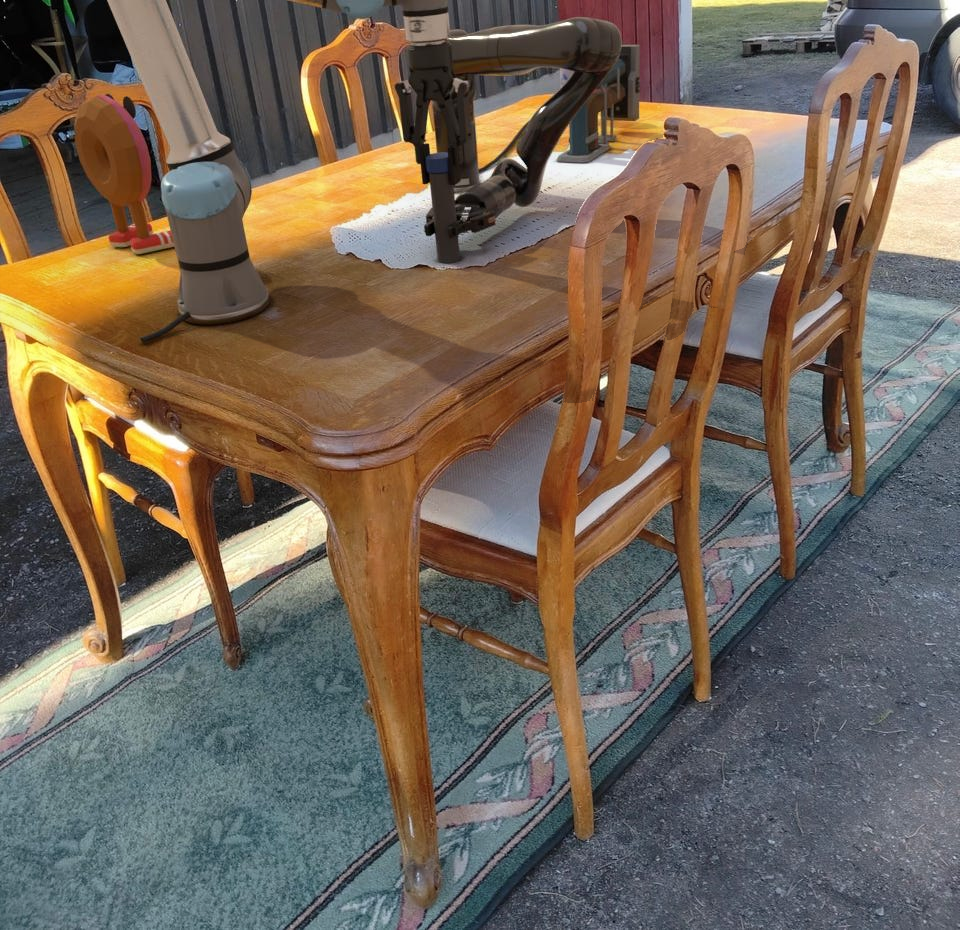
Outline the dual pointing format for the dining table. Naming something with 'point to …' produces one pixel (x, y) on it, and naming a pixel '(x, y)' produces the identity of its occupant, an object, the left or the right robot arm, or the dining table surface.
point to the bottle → (444, 216)
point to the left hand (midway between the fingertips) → (441, 182)
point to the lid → (437, 162)
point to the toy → (118, 168)
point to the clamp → (606, 108)
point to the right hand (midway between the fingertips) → (438, 231)
